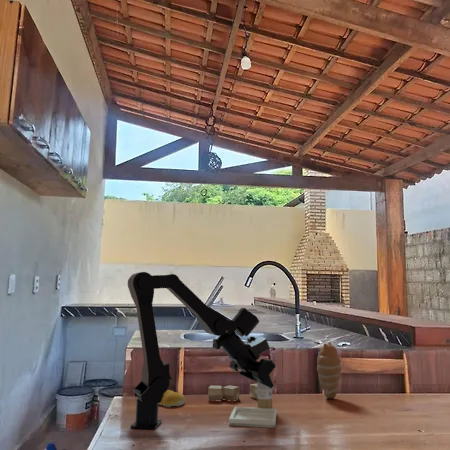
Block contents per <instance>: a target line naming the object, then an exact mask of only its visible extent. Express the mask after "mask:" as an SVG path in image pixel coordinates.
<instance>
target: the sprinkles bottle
mask: <svg viewBox="0 0 450 450" xmlns="http://www.w3.org/2000/svg"><path fill="white" fill-rule="evenodd" d="M269 376H270V378H271V379H272V372H271V373H270V374H269ZM256 384H257V397H258V399H257V408H272V409H274V408H273V387H272V388H270V387H268V386H265V385H263V384H261V383H259V382H256Z"/></svg>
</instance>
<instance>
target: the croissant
mask: <svg viewBox="0 0 450 450" xmlns="http://www.w3.org/2000/svg"><path fill="white" fill-rule="evenodd" d="M318 353H319V355H317V359H316V362H317V366H316V372H317V374H318V381H319V386H320V387H321V389H322V390H323V396H325V398H327V399H329V400H332V399H334V398H335V397H336V396H337V394H338V393H337V392H338V388H339V386H340V379H341V373H342V367H341V358H340V357H339V356H338V350H337V348H336V347H335V346H334V345H332V343H331V341H329V342H328V343H327V344H326V343H325V342H324V344H323V345H322V346H321V348H320V350H319V351H318Z"/></svg>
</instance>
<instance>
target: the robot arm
mask: <svg viewBox="0 0 450 450" xmlns="http://www.w3.org/2000/svg"><path fill="white" fill-rule="evenodd" d="M127 288H128V291H129V293H130V297H131V298H132V301H133V303H134V305H135V309H136V314H137V322H138V328H139V335H140V342H141V347H142V354H143V362H142V363H143V364H142V369H141V380H140V382H138V384H137V385H136V386H135V387H133V389H132V390H133V395H134V398H136V400H135V401H136V404H135V421H134V422H133V423H132V424H130V429H131V428H132V429H142V430H143V429H144V430H145V429H146V430H156V429H157V428H158V426H159V425H161V423H163V420H162V419H159V405H158V403H160V402H161V400H162V397H163V395H164V393H165V392H166V391H167V390H169V388H170V386H171V385H170V384H171V383H170V382H171V380H172V379H173V377H172V376H171V375H170V374H171V373H170V363H168V362H167V361H165V360H162V358H161V354H160V347H159V341H158V335H157V327H156V321H155V320H156V319H155V315H154V309H153V303H154V297H155V296H154V295H155V289H166V290H168V291H169V292H170V293H171V294H172V295H173V296H174V297H175V298H176V299H177V300H178V301H180V302H181V303H182V304H183V305H184V307H186V308H187V309H188V310H189V311H190V312H191V313H192V314H193V315H194V317H196V319H197V321H198V324H199V325H200V327H201V328H202V329H203V330H204V332H206V333H207V334H209V335H213V336H218V337H217V338H213V339H212V348H213V349H215V350H220V349H221V348H222V349H223V351H225V353H226V354H227V355H228V358H229V359H230V360H231V361H230V362H229V368H230V369H231V370H232V371H233V372H234V373H239V375H241V376H243V377H245V378H247V379H248V380H249V379H250V380H251V381H254V382H255V383H257V382H259V383H261V384H263V385H265V386H268V387H270V388H272V389H273V387H274V383H273V381H272V377H271V378H270V376H269V374H270V373H271V374H272V372H273V370H274V369H275V368H276V367H277V366H276V363H275V362H274V361H273V360H272V359H268V358H261V355H260V354H262V353H263V352H266V351H268V350H270V348H271V347H270V345H269V343H268V339H267V338H266V337H262V336H261V337H260V336H259V337H255V336H253V335H250V334H251V333H252V331H253V330H255V328H256V326H258V325H259V323H260V320H259V318H258V317H257V315H255V314H253V313H252V311H251V312H250V311H249V310H248V309H247V308H246V307H240V309H239V310H238V312H237V313H236V314H235V315H234V317H233V318H232V319H230V318H229V319H228V318H227V317H226V316H225V315H223V314H222V313H220V312H218V311H217V310H215V309H214V308H211V307H210V306H208V305H207V304H206V303H205V302H203V301H202V299H200V298H199V297H198V296H197V295H196V294H195V293H194V292H193V291H192V289H190V288H189V287H188V286H187V285H186V283H184V282H183V281H182V280H181V279H180V278H179V276H178V275H177V274H176V273H171V274H164V275H163V274H157V275H156V274H155V275H152V274H151V273H149V272H147V271H141V272H140V271H139V272H136V273H133V274H131V275H130V276H129V278H128V280H127ZM249 335H250V336H249ZM248 336H249V337H248ZM243 337H246V338H247V340H246V341H247V343H245V342H244V341H243V340H242V338H243ZM260 358H261V359H260ZM259 359H260V361H258V360H259ZM239 371H240V372H239Z"/></svg>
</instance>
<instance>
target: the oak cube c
mask: <svg viewBox="0 0 450 450" xmlns="http://www.w3.org/2000/svg"><path fill="white" fill-rule="evenodd" d="M252 397H253V398H252ZM249 398H252V399H255V398H256V399H255V400H258V397H257V383H252V384H251V383H250V384H249Z"/></svg>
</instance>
